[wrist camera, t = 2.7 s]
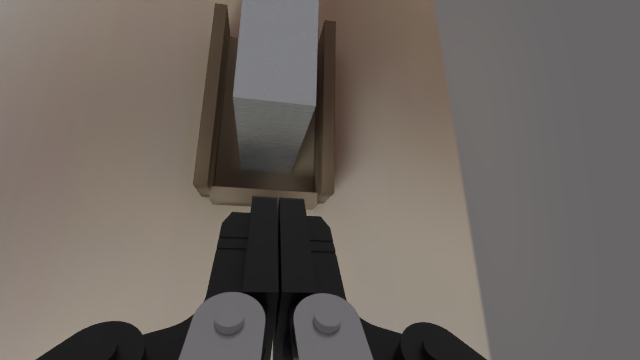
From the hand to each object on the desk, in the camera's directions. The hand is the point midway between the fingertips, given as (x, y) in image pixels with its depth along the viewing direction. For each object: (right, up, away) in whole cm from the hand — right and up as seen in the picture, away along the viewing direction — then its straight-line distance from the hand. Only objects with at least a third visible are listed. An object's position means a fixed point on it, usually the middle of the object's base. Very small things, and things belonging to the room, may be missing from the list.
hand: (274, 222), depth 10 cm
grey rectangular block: (-2, +7, +16) cm, 17 cm away
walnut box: (-2, +6, +16) cm, 17 cm away
